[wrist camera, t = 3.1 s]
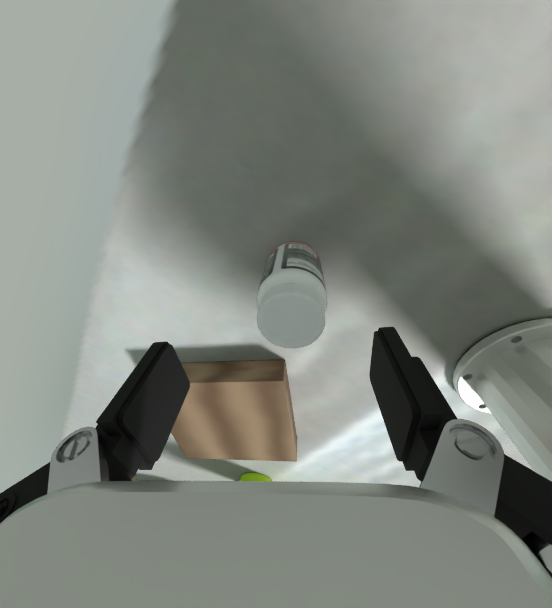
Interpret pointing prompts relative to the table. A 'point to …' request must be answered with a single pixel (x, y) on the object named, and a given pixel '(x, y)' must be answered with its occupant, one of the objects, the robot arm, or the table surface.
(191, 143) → the table surface
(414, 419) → the robot arm
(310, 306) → the pill bottle
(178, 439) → the stand
